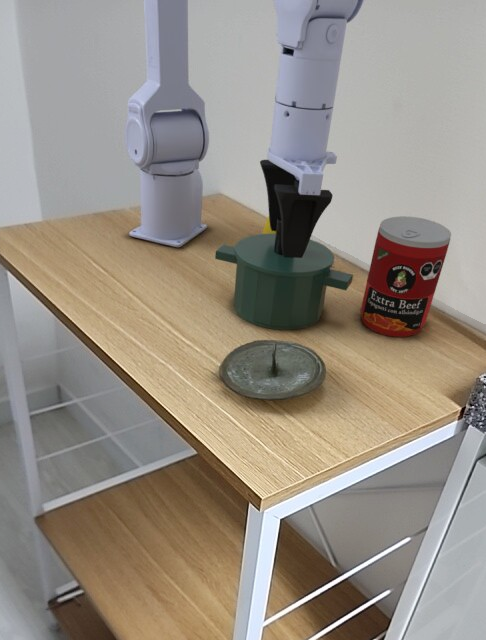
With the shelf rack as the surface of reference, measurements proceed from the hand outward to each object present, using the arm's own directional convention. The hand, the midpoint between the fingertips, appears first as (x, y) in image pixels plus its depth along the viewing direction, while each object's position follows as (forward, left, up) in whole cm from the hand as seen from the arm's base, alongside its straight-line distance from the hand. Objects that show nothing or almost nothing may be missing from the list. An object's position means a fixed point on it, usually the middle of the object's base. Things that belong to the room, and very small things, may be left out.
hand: (285, 242), depth 71 cm
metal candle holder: (+16, +5, -8) cm, 19 cm away
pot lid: (0, 0, -2) cm, 2 cm away
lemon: (-12, -4, -8) cm, 15 cm away
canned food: (-4, +13, -8) cm, 16 cm away
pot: (0, 0, -8) cm, 8 cm away
